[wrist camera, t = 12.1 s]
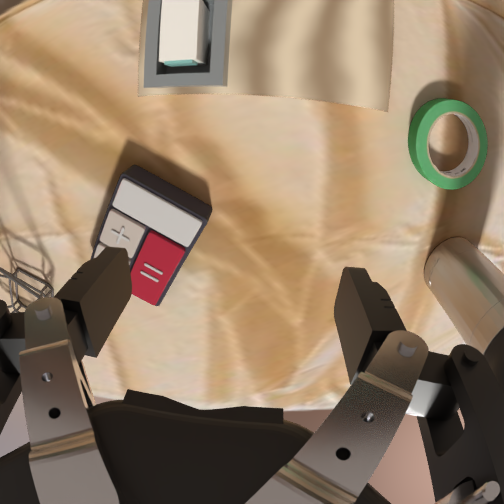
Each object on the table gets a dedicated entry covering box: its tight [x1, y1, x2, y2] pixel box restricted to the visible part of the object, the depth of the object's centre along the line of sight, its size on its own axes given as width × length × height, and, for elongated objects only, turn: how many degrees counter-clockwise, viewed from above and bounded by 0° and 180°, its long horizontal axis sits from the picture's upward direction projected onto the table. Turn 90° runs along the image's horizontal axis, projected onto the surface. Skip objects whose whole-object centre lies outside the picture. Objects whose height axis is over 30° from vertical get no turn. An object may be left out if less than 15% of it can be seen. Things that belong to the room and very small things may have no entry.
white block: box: [159, 0, 210, 67], centre depth 23 cm, size 3×6×6 cm, turn 178°
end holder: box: [144, 0, 232, 88], centre depth 25 cm, size 7×10×4 cm
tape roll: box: [408, 98, 488, 189], centre depth 31 cm, size 11×11×3 cm
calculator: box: [91, 165, 212, 306], centre depth 37 cm, size 11×4×15 cm
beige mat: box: [138, 0, 394, 112], centre depth 27 cm, size 27×14×1 cm, turn 87°
